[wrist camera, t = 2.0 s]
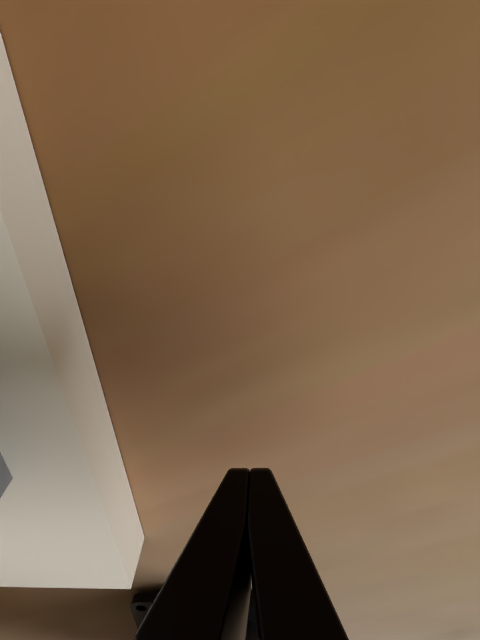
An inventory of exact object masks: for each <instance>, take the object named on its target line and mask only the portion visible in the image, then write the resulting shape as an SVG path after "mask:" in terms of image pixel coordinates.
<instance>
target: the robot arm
mask: <svg viewBox="0 0 480 640" xmlns="http://www.w3.org/2000/svg"><path fill="white" fill-rule="evenodd" d="M251 580H252V592H253V595H250V592H251ZM130 608H131V611H132V614H133V616H134V619H135V622H136V625H137V628H138V631H137V632H136V634H135V639H136V640H349V639H348V637H347V635H346V632H345V630H344V628H343V626H342V624H341V621H340V619H339V617H338V615H337V613H336V611H335V608H334V606H333V604H332V602H331V600H330V597H329V595H328V593H327V591H326V589H325V587H324V584H323V582H322V580H321V578H320V576H319V574H318V571H317V569H316V567H315V565H314V563H313V560H312V558H311V556H310V554H309V552H308V550H307V547H306V545H305V543H304V541H303V539H302V536H301V534H300V532H299V530H298V528H297V526H296V523H295V521H294V519H293V517H292V515H291V512H290V510H289V508H288V506H287V504H286V502H285V499H284V497H283V495H282V493H281V491H280V488H279V486H278V484H277V482H276V480H275V478H274V475H273V473H272V471H271V470H270V469H269V468H252V469H251V470H250V471H249V469H247V468H231V469H229V470H228V472H227V473H226V475H225V477H224V479H223V480H222V482H221V484H220V486H219V487H218V489H217V491H216V493H215V494H214V496H213V498H212V500H211V502H210V503H209V505H208V507H207V509H206V510H205V512H204V514H203V516H202V517H201V519H200V521H199V523H198V525H197V526H196V528H195V530H194V532H193V533H192V535H191V537H190V539H189V540H188V542H187V544H186V546H185V547H184V549H183V551H182V553H181V555H180V556H179V558H178V560H177V562H176V563H175V565H174V567H173V569H172V570H171V572H170V574H169V576H168V578H167V579H166V581H165V583H164V585H163V586H162V588H161V590H160V592H159V593H137V594H134V596H133V598H132V602H131V606H130Z"/></svg>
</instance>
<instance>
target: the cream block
mask: <svg viewBox="0 0 480 640" xmlns="http://www.w3.org/2000/svg"><path fill="white" fill-rule="evenodd" d="M0 452H1V454H2V457H3V459H4V461H5V463H6V465H7V467H8V469H9V471H10V473H11V475H12V477H13V479H12V481H11V482H10V484H9V485H8V487H7V488H6V490H5V492H4V493H3V495H2V496H1V498H0V587H44V588H100V589H131V587H132V583H133V579H134V575H135V572H136V568H137V564H138V560H139V556H140V553H141V549H142V545H143V541H144V535H143V531H142V528H141V524H140V521H139V517H138V514H137V510H136V507H135V503H134V500H133V496H132V493H131V489H130V486H129V482H128V479H127V475H126V472H125V468H124V465H123V461H122V458H121V454H120V451H119V447H118V444H117V440H116V436H115V433H114V429H113V426H112V422H111V419H110V415H109V412H108V408H107V405H106V401H105V398H104V394H103V391H102V387H101V384H100V380H99V377H98V373H97V370H96V366H95V363H94V359H93V356H92V352H91V349H90V345H89V342H88V338H87V335H86V331H85V328H84V324H83V321H82V317H81V314H80V310H79V307H78V303H77V300H76V296H75V293H74V289H73V286H72V282H71V279H70V275H69V272H68V268H67V265H66V261H65V258H64V254H63V251H62V247H61V243H60V240H59V236H58V233H57V229H56V226H55V222H54V219H53V215H52V212H51V208H50V205H49V201H48V198H47V194H46V191H45V187H44V184H43V180H42V177H41V173H40V170H39V166H38V163H37V159H36V156H35V152H34V149H33V145H32V142H31V138H30V135H29V131H28V128H27V124H26V121H25V117H24V114H23V110H22V107H21V103H20V100H19V96H18V93H17V89H16V86H15V82H14V79H13V75H12V72H11V68H10V65H9V61H8V57H7V54H6V50H5V47H4V43H3V40H2V36H1V33H0Z"/></svg>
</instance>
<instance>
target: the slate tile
mask: <svg viewBox="0 0 480 640" xmlns="http://www.w3.org/2000/svg"><path fill="white" fill-rule="evenodd" d="M12 479H13V477H12V475H11V473H10V471H9V469H8V467H7V465H6V463H5V461H4V459H3V457H2V454H1V452H0V498H1V496H2V495H3V493H4V492H5V490H6V488H7V487H8V485H9V484H10V482H11V481H12Z"/></svg>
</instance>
